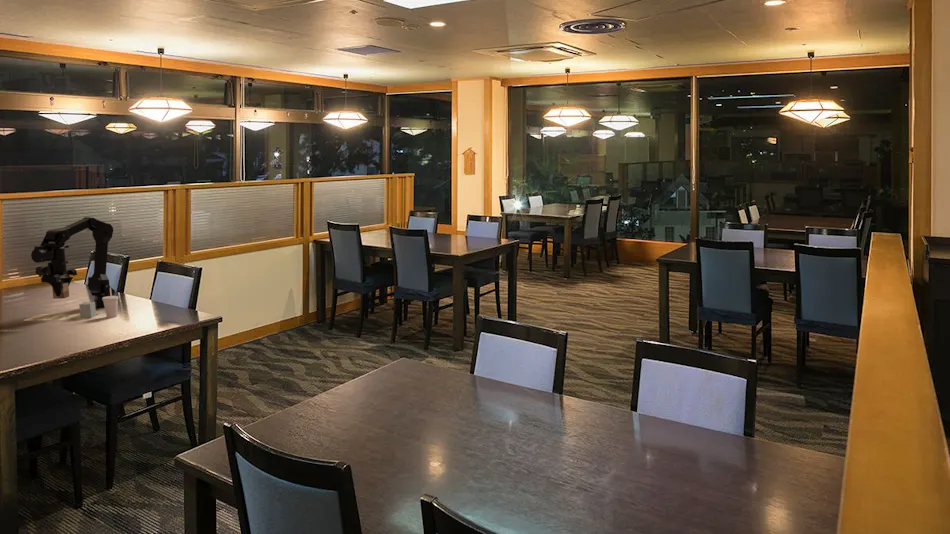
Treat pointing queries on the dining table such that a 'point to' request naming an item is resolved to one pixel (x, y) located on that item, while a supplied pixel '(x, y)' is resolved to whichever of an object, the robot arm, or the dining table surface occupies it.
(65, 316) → the board
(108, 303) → the smoothie
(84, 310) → the slate block
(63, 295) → the walnut block
